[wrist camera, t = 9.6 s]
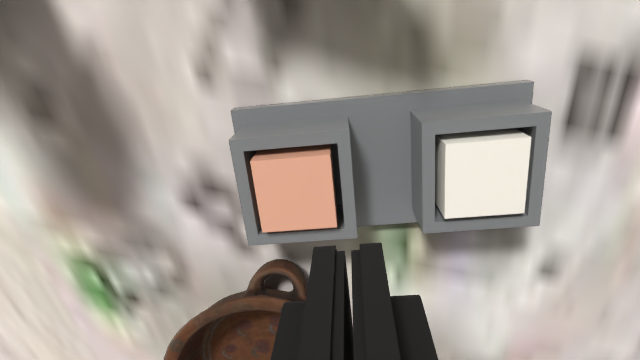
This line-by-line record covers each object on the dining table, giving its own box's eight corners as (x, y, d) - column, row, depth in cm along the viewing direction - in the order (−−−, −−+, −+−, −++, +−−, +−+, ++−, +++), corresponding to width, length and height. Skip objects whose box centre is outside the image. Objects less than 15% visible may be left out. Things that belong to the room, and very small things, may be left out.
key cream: (510, 125, 26) (531, 137, 23) (505, 194, 28) (524, 213, 25) (433, 132, 26) (445, 144, 23) (433, 200, 28) (444, 218, 25)
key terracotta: (330, 141, 27) (330, 154, 24) (336, 208, 28) (337, 227, 26) (259, 148, 27) (250, 161, 24) (269, 213, 29) (262, 232, 26)
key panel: (527, 80, 27) (566, 89, 23) (516, 209, 31) (548, 241, 26) (234, 108, 29) (214, 122, 24) (255, 227, 32) (241, 261, 28)
